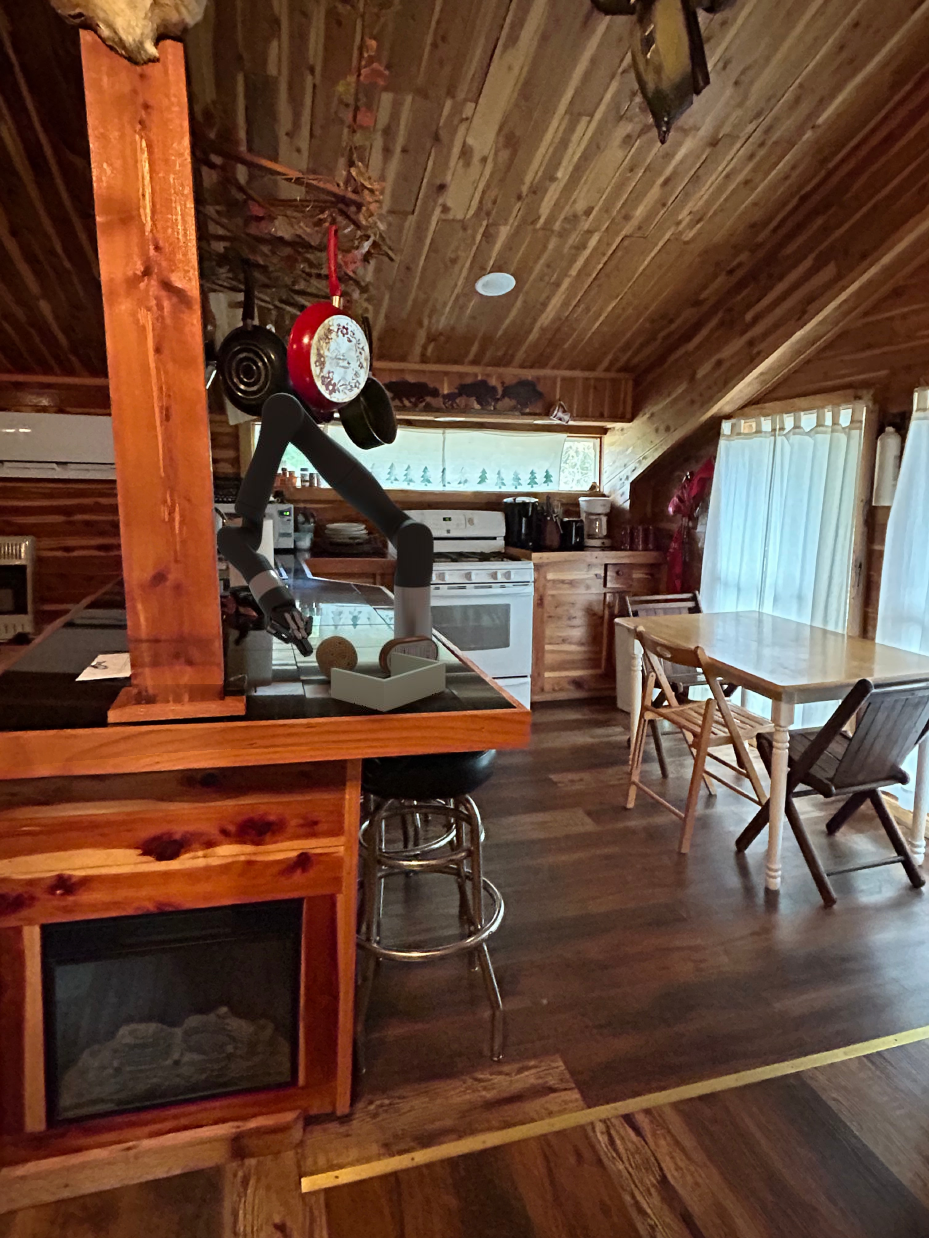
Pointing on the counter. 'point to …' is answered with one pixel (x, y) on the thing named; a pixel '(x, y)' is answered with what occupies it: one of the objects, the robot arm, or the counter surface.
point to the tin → (407, 649)
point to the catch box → (390, 683)
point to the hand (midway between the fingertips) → (309, 654)
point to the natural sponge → (336, 655)
